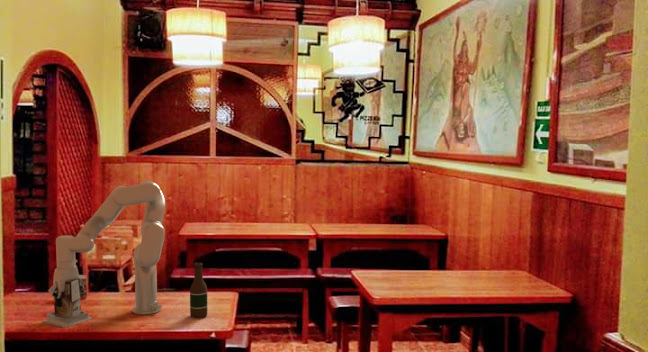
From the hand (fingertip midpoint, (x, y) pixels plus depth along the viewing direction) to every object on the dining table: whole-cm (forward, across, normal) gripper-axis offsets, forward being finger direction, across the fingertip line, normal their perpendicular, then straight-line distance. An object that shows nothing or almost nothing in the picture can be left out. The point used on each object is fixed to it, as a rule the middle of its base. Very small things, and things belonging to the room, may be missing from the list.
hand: (67, 303), depth 253 cm
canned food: (+8, -24, -26) cm, 36 cm away
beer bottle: (+8, -35, +44) cm, 57 cm away
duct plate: (+7, 0, 0) cm, 7 cm away
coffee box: (+5, 0, 0) cm, 5 cm away
